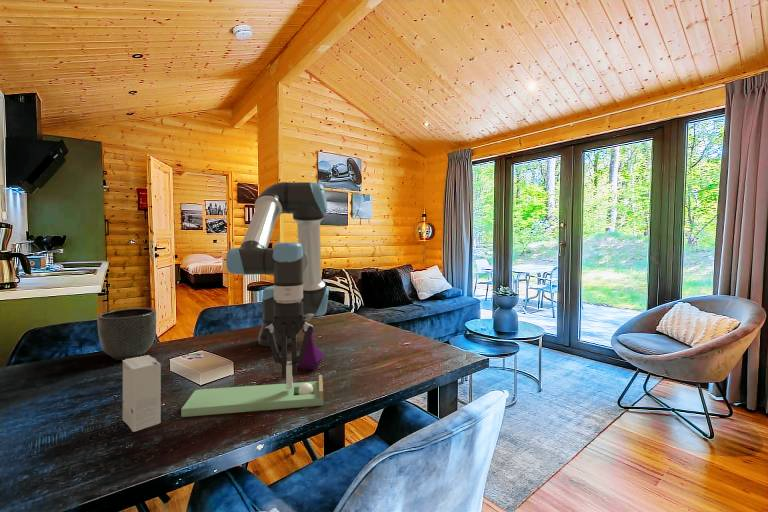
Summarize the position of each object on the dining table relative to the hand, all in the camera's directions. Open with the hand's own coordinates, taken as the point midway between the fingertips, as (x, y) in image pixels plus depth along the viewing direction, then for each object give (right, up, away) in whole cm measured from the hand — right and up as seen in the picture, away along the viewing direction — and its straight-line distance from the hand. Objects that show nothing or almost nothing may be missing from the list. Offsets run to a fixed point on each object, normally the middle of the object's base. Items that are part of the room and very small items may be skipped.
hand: (289, 386), depth 99 cm
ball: (+4, -1, +1) cm, 4 cm away
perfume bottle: (+1, -2, +23) cm, 23 cm away
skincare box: (-32, -4, -12) cm, 34 cm away
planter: (-66, -1, +33) cm, 73 cm away
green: (-8, -3, -1) cm, 9 cm away
